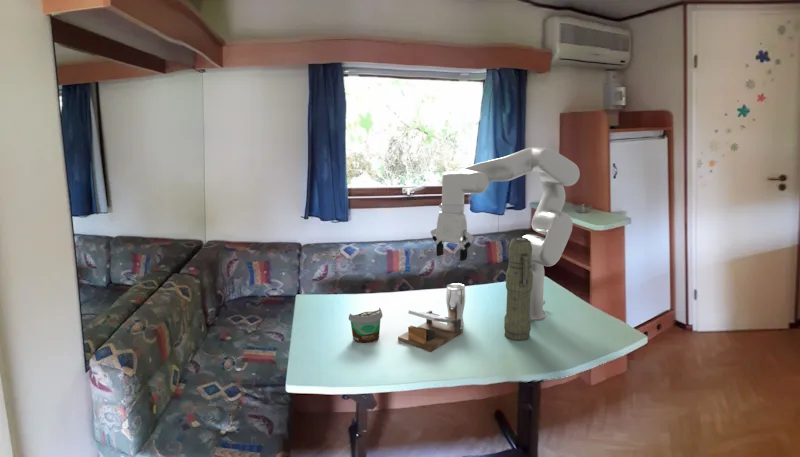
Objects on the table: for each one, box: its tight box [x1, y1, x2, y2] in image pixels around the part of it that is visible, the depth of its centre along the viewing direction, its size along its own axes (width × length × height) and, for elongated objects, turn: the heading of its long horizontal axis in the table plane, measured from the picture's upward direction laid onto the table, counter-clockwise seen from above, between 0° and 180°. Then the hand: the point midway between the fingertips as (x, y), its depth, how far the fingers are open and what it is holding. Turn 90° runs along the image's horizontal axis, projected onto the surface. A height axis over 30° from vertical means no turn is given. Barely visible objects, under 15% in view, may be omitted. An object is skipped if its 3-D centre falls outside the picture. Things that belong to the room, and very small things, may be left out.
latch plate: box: [397, 310, 464, 353], centre depth 176 cm, size 19×14×6 cm
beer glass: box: [445, 283, 466, 328], centre depth 185 cm, size 7×7×15 cm
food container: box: [348, 307, 384, 344], centre depth 173 cm, size 12×6×10 cm, turn 117°
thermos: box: [503, 236, 533, 342], centre depth 173 cm, size 9×12×35 cm
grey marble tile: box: [407, 310, 456, 324], centre depth 176 cm, size 15×11×2 cm
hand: (451, 257), depth 174 cm, fingers open, 9 cm apart
